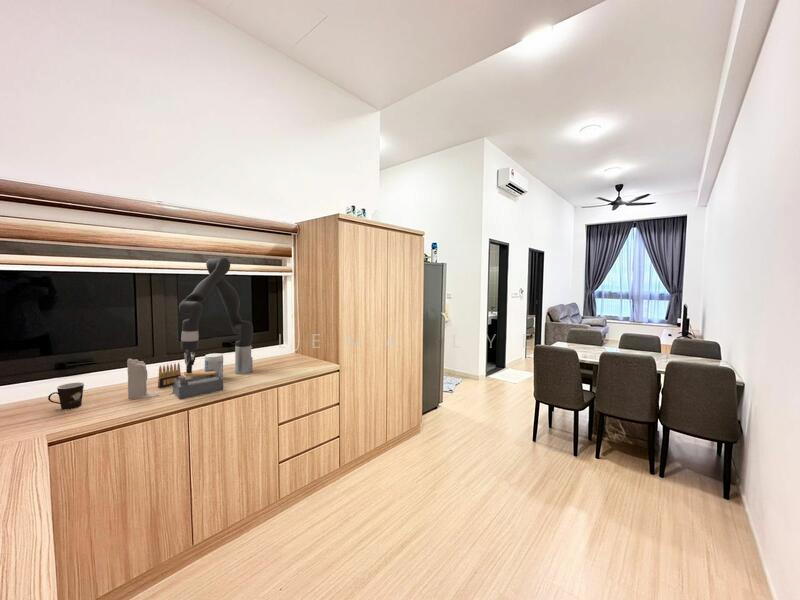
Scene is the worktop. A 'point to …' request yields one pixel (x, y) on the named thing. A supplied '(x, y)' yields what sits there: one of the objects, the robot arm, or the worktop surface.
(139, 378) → the grey upright block
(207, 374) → the retention lever
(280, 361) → the worktop surface
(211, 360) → the supplement tub
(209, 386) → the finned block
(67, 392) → the coffee mug
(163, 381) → the ammunition clip
